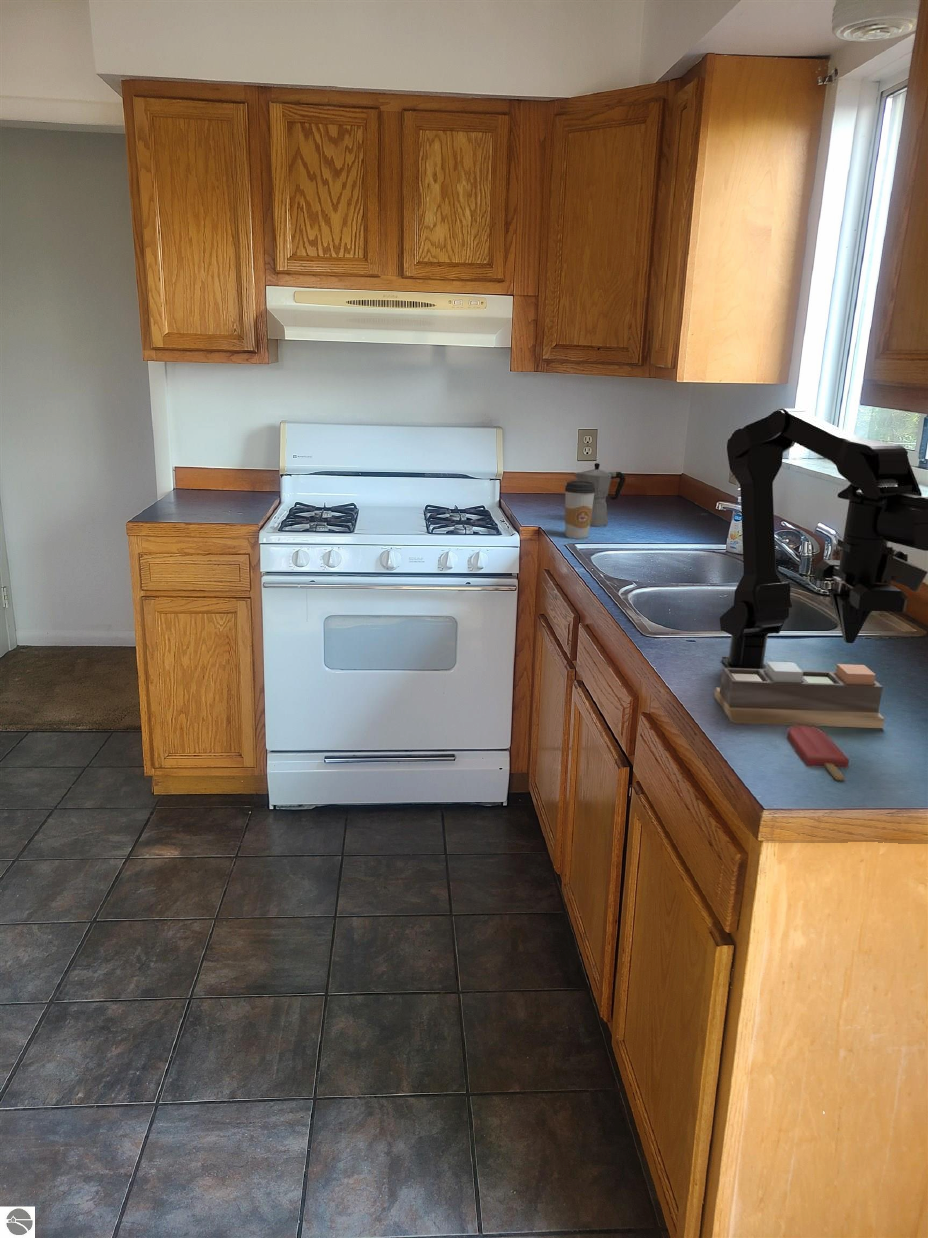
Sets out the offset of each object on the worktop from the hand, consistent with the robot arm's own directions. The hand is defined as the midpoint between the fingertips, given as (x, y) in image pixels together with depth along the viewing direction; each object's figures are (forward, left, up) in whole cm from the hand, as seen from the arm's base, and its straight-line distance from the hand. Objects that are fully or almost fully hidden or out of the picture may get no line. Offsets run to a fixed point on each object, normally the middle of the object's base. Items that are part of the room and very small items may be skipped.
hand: (848, 642), depth 130 cm
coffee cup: (-122, -25, -11) cm, 125 cm away
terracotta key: (0, +2, -7) cm, 7 cm away
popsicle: (+14, -8, -12) cm, 20 cm away
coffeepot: (-142, -17, -11) cm, 144 cm away
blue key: (0, -9, -7) cm, 11 cm away
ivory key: (0, -14, -9) cm, 17 cm away
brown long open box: (0, -6, -11) cm, 13 cm away
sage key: (0, -3, -9) cm, 10 cm away
